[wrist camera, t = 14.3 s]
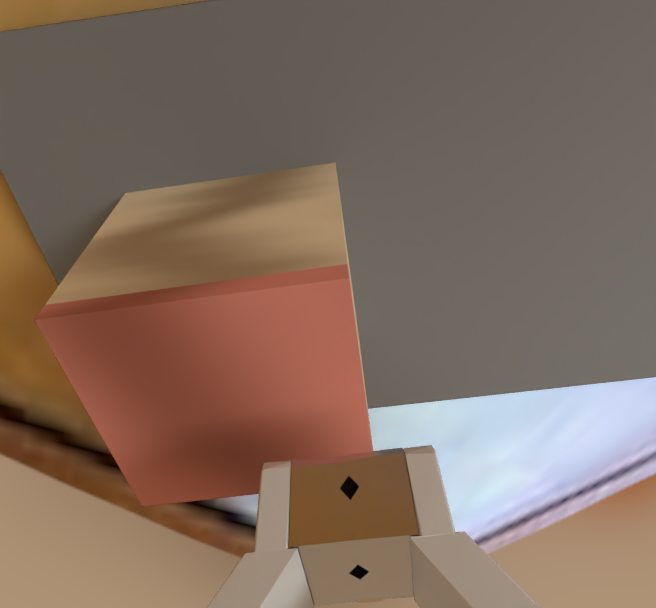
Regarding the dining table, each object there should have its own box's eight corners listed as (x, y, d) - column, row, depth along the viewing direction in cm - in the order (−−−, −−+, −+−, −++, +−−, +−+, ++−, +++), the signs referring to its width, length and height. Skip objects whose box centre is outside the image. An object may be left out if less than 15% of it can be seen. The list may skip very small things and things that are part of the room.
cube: (34, 319, 10) (125, 193, 15) (142, 506, 13) (187, 353, 18) (349, 278, 10) (335, 162, 14) (376, 480, 13) (358, 331, 18)
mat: (881, -100, 12) (896, -101, 11) (703, 363, 20) (709, 371, 19) (-55, 39, 13) (-64, 42, 12) (136, 426, 21) (133, 434, 20)
